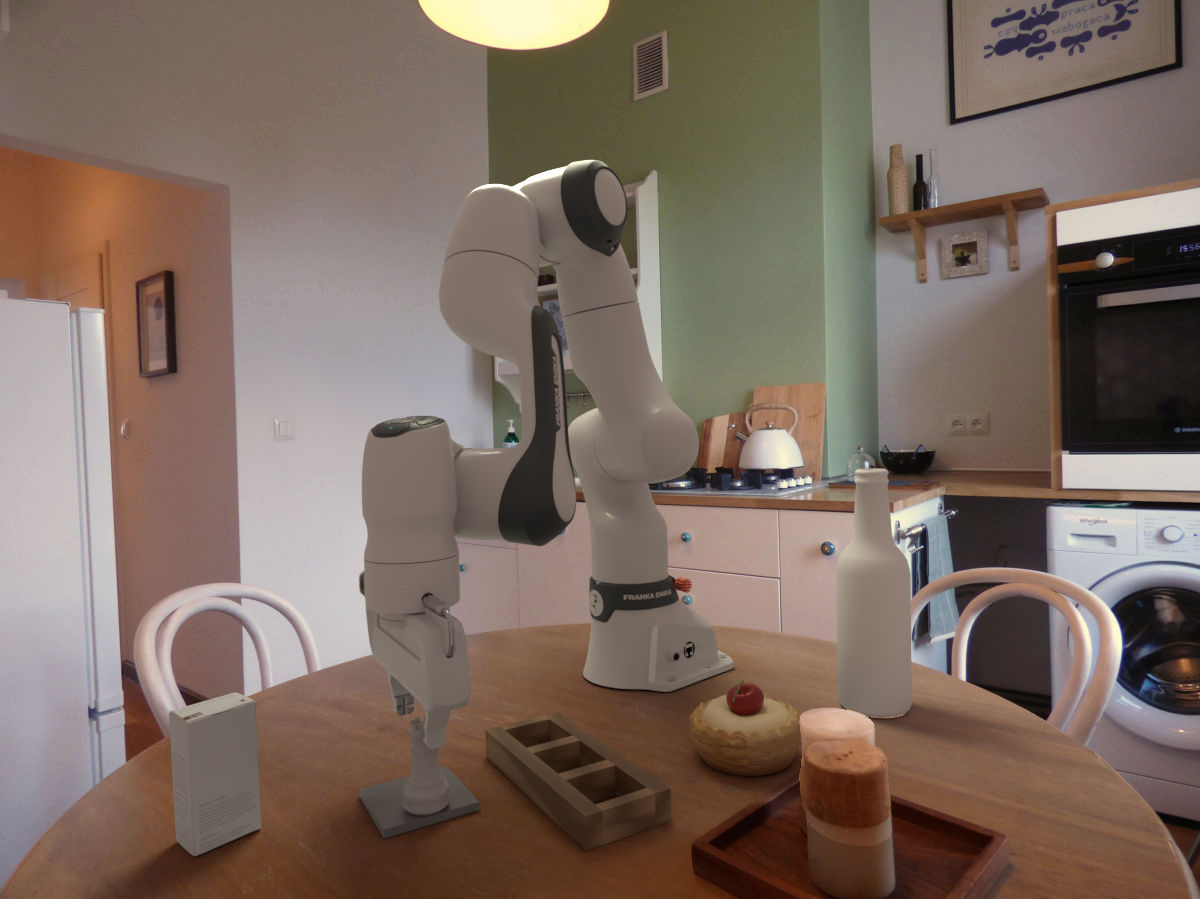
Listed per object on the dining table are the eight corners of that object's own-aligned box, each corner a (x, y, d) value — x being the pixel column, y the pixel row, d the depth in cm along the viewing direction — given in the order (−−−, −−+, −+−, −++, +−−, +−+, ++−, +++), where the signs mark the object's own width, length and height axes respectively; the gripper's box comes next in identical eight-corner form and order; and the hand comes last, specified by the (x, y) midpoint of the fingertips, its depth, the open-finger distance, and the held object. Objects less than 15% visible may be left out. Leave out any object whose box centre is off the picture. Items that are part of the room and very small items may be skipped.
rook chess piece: (441, 818, 68) (439, 729, 68) (394, 816, 69) (391, 729, 69) (457, 795, 72) (454, 712, 72) (412, 794, 73) (410, 711, 73)
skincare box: (241, 815, 71) (237, 688, 71) (264, 830, 68) (259, 699, 68) (171, 843, 67) (166, 708, 66) (192, 861, 64) (187, 720, 63)
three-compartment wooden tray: (558, 737, 87) (557, 712, 87) (671, 820, 69) (670, 788, 68) (486, 756, 83) (485, 729, 83) (585, 851, 64) (585, 816, 64)
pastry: (807, 742, 85) (806, 664, 85) (799, 791, 74) (798, 701, 74) (702, 730, 89) (701, 655, 89) (679, 775, 78) (678, 689, 77)
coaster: (447, 773, 79) (446, 766, 79) (479, 810, 71) (479, 801, 71) (359, 796, 74) (359, 788, 74) (384, 838, 67) (383, 829, 67)
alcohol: (927, 714, 92) (925, 469, 91) (869, 725, 89) (866, 472, 88) (878, 690, 100) (875, 466, 99) (823, 700, 97) (820, 469, 96)
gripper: (486, 601, 65) (490, 759, 65) (413, 566, 82) (417, 691, 83) (414, 612, 62) (419, 778, 62) (354, 573, 79) (359, 703, 80)
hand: (418, 728), depth 73 cm, fingers open, 8 cm apart
